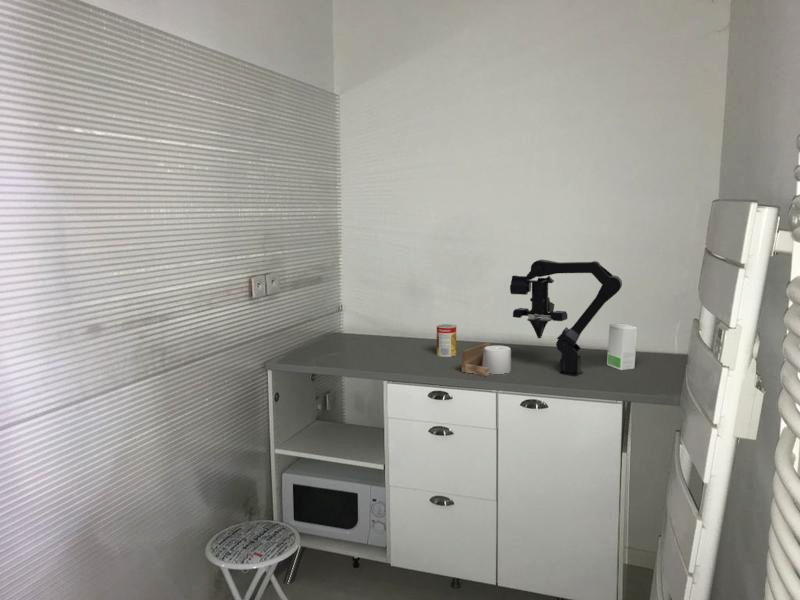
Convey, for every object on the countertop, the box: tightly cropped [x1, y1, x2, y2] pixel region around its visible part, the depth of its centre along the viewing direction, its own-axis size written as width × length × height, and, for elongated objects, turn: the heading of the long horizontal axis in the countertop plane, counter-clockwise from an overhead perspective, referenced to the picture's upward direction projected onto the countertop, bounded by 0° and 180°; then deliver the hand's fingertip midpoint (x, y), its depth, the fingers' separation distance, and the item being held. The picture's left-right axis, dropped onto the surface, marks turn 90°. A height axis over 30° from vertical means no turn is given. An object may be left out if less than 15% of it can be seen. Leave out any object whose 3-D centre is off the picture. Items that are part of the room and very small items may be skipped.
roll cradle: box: [461, 342, 491, 376], centre depth 236 cm, size 10×17×8 cm, turn 141°
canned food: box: [436, 323, 457, 358], centre depth 260 cm, size 8×8×12 cm
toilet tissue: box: [482, 345, 512, 375], centre depth 232 cm, size 9×13×9 cm
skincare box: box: [606, 322, 638, 371], centre depth 237 cm, size 8×7×16 cm
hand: (539, 338), depth 233 cm, fingers closed
